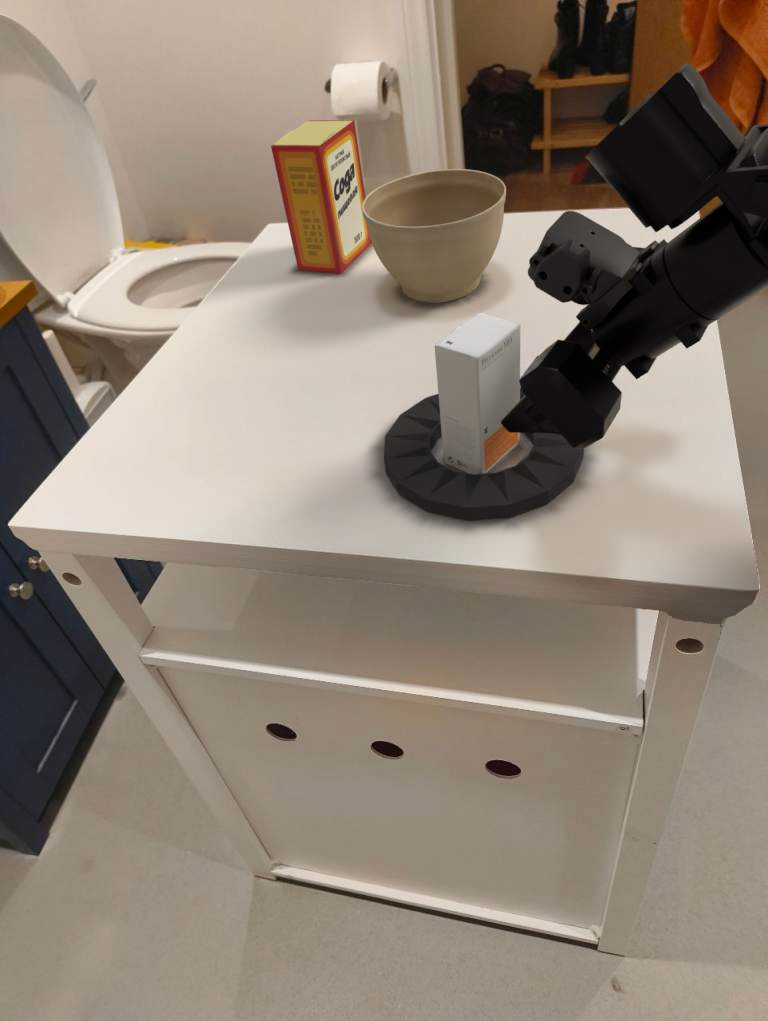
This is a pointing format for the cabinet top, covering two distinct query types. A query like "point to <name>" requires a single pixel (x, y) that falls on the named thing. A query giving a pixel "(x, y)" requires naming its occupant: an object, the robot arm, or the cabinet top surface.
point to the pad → (473, 493)
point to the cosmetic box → (478, 391)
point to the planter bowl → (436, 230)
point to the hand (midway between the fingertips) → (529, 393)
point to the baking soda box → (323, 194)
